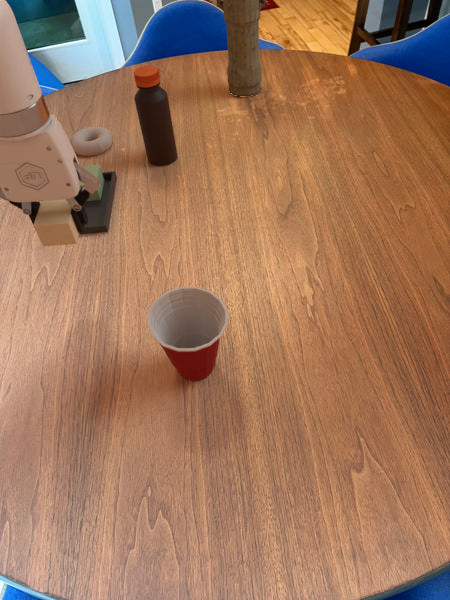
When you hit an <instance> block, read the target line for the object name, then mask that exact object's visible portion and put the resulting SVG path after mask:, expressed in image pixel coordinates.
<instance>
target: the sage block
mask: <svg viewBox="0 0 450 600" xmlns="http://www.w3.org/2000/svg"><path fill="white" fill-rule="evenodd" d="M80 166H81V167H83V168H84V169H85V170H87V171H88V172H89V173H91V174H92V175H94V176H95V177H96V178H98V179H99V180H100V184H99V188H98V189H97V190H96V191H95V192H94V193H93V194H91V195H90V196H89V198H88V200H87V201H95V200H101V196H102V191H103V186H104V177H103V174H102V172H103V170H102V167H101V165H100V164H91V165H80ZM79 185H80V190H81V188H82V187H83V186H85V184H84V183H83V182H81V181H80V180H79Z"/></svg>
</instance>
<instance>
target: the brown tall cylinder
mask: <svg viewBox="0 0 450 600" xmlns="http://www.w3.org/2000/svg"><path fill="white" fill-rule="evenodd" d="M216 5H217V7H219V8H220V9H222V11H223V20H224V22H225V25H226V38H227V39H226V42H227V57H228V59H227V60H228V64H227V67H226V78H227V84H228V92H229V91H230V93H232V94H233V95H237V96H251V95H254V96H256V95H255V94H257V93H258V92H259V93H260V92H261V91H262V84H261V83H262V81H263V80H262V78H263V77H262V65H261V61H260V19H261V17H262V16H261V13H262V12H261V10H262V8H265V7H267V0H216ZM260 90H261V91H260ZM230 93H229V94H230ZM259 93H258V94H259ZM258 94H257V95H258ZM233 95H232V96H233ZM251 97H252V96H251Z"/></svg>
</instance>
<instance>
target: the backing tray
mask: <svg viewBox="0 0 450 600" xmlns="http://www.w3.org/2000/svg"><path fill="white" fill-rule="evenodd" d="M102 174H103V177H104V186H103V191H102V196H101V200H95V201H86V202H85V203H84V207H85V210H86V213H87V216H88V223H87V224H85V227H84V232H83V233H79V235H91V234H100V233H109V228H110V222H111V216H112V209H113V203H114V198H115V191H116V186H117V178H118V176H117V172H116V171H115V170H112V171H102Z"/></svg>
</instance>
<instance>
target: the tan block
mask: <svg viewBox="0 0 450 600" xmlns="http://www.w3.org/2000/svg"><path fill="white" fill-rule="evenodd" d="M40 203H41V205H40V208H39V211H38V214H37V216H36V219H35V222H34V225H33V224H32V226H33V229H34V230H35V233H36V234H37V237H38V238H39V239H38V240H39V241H40V243H41V245H42V247H54V246H67V245H69V246H70V245H77V244H78V241H79V237H80V234H79V232H78V230H77V228H76V225H75V222H74V220H73V217H72V215H71V209H72V207H71V206H70V204H69V203H68V202H67V201H66V199H61V200H49V201H40Z"/></svg>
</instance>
